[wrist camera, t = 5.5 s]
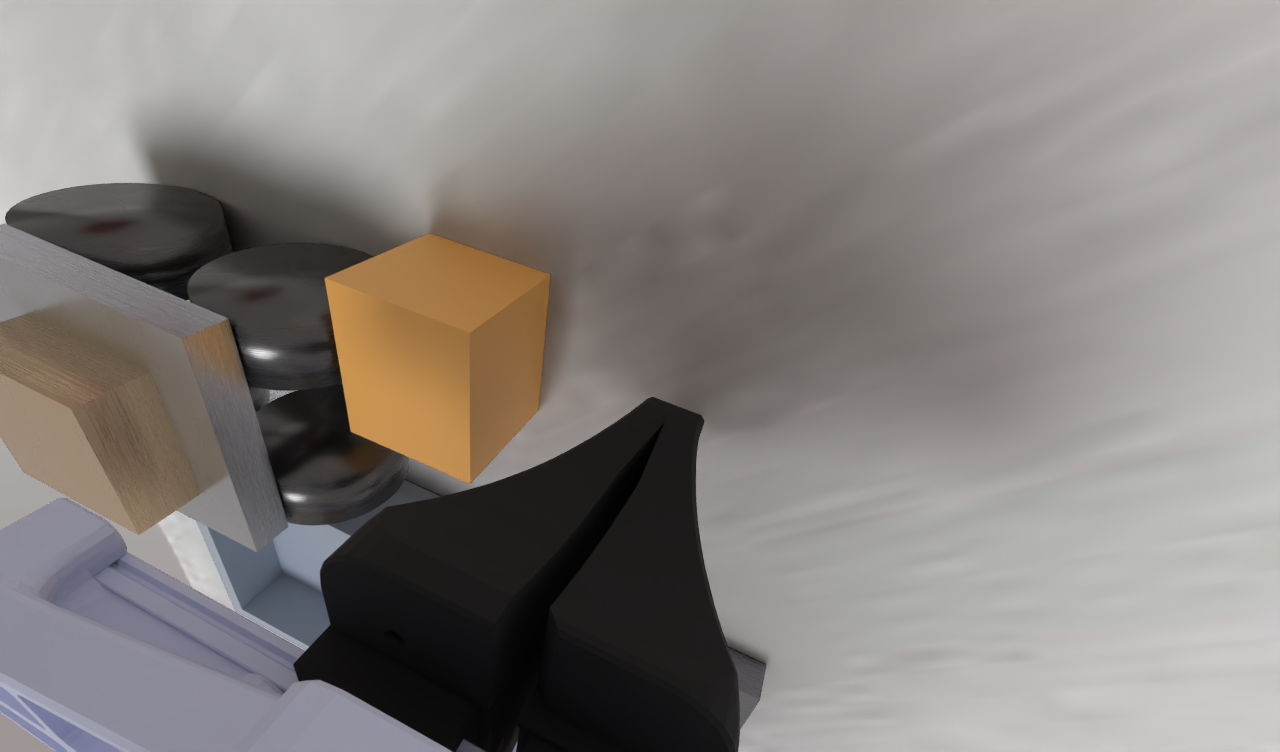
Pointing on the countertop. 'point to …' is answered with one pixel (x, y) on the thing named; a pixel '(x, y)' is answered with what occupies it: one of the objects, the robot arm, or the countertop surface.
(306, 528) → the tray
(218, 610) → the robot arm
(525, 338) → the block
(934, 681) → the countertop surface
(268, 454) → the trolley
